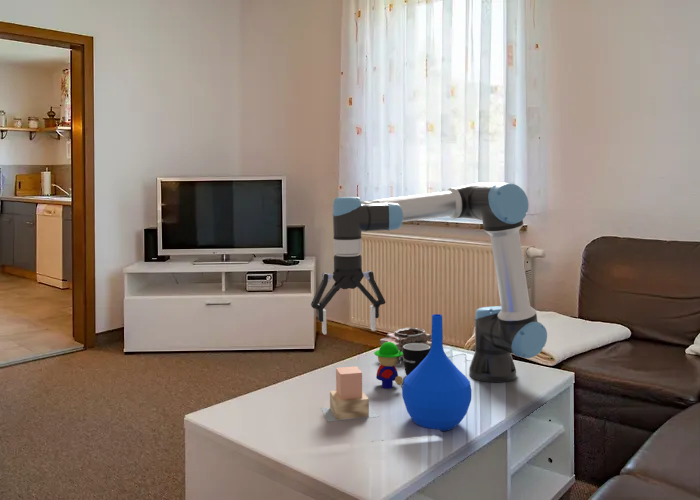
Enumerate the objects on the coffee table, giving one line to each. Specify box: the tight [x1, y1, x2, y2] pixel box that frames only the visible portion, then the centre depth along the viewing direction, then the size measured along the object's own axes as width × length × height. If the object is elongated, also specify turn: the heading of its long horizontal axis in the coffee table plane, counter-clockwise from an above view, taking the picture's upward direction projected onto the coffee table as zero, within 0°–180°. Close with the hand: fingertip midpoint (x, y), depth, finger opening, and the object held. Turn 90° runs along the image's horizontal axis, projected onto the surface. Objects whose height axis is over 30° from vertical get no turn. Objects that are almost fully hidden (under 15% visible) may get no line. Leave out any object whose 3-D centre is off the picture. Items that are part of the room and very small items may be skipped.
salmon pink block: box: [335, 365, 363, 399], centre depth 179 cm, size 6×6×7 cm
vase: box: [401, 313, 473, 432], centre depth 172 cm, size 18×18×30 cm
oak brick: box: [329, 389, 370, 421], centre depth 179 cm, size 9×9×5 cm
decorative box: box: [379, 327, 432, 360], centre depth 235 cm, size 13×20×10 cm, turn 120°
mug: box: [402, 343, 430, 377], centre depth 213 cm, size 12×9×10 cm
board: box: [320, 403, 379, 422], centre depth 180 cm, size 14×10×1 cm
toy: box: [373, 342, 404, 390], centre depth 201 cm, size 11×9×15 cm
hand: (348, 331), depth 177 cm, fingers open, 13 cm apart
